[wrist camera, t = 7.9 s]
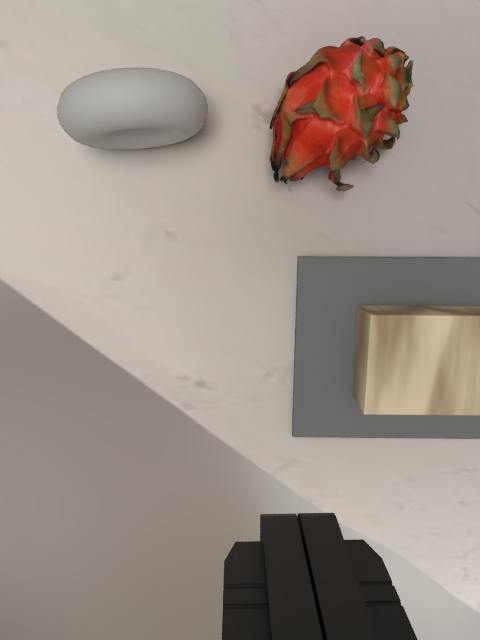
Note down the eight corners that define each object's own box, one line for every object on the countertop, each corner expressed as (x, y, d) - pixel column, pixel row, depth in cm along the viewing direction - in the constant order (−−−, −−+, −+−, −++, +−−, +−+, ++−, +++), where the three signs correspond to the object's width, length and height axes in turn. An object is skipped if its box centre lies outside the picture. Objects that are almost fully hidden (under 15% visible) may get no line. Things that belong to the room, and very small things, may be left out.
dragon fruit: (395, 78, 36) (281, 182, 40) (348, -20, 31) (219, 112, 34) (461, 119, 31) (321, 236, 34) (419, 8, 25) (255, 163, 28)
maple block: (357, 305, 38) (501, 306, 38) (352, 395, 40) (489, 396, 40) (370, 315, 34) (531, 316, 34) (364, 414, 36) (516, 415, 36)
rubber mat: (502, 257, 38) (506, 258, 37) (480, 435, 41) (483, 438, 41) (297, 256, 38) (298, 257, 37) (292, 433, 41) (292, 437, 41)
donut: (210, 97, 35) (197, 50, 26) (215, 144, 36) (204, 115, 26) (83, 111, 36) (23, 70, 26) (91, 158, 36) (34, 134, 27)
